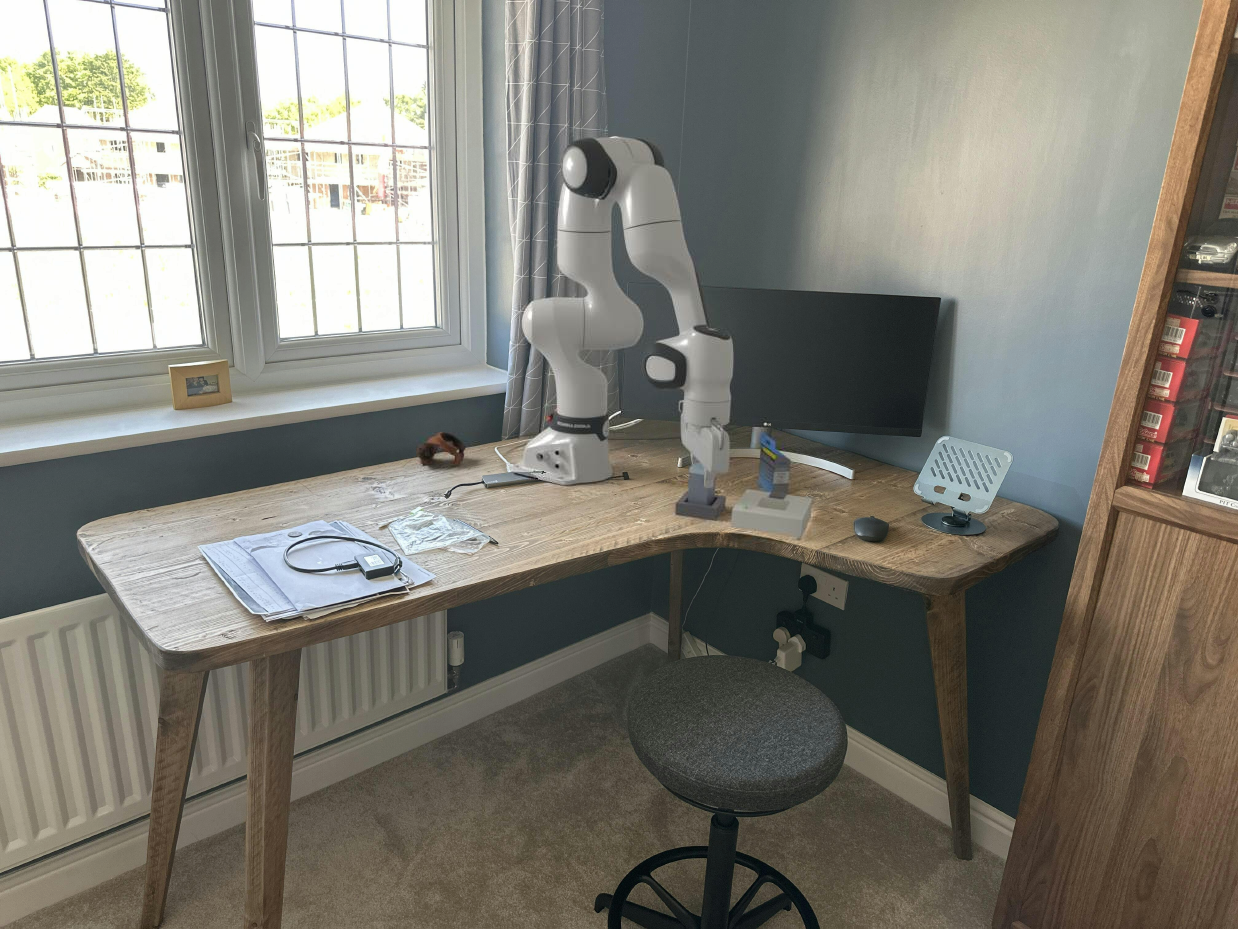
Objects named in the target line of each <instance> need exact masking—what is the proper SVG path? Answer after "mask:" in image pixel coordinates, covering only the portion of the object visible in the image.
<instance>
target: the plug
mask: <svg viewBox="0 0 1238 929" xmlns="http://www.w3.org/2000/svg"><path fill="white" fill-rule="evenodd" d="M704 475H705V471H704V466H703V465H702V464H701V463H699V462H698V463H696V464H694V465H693V466H692V465H691V466H689V475H688V486H687V487H688V489H687V491H688V503H695V504H702V505H709V506H712V505H713V504H714V499H715V495H716V483H717V482H716V481H717V475H716V476H715V478H714V485H713V487H712V488H705V487H704V486H703V484H702V482H703V477H704Z"/></svg>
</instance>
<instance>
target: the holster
mask: <svg viewBox="0 0 1238 929" xmlns="http://www.w3.org/2000/svg"><path fill="white" fill-rule="evenodd" d="M726 500H727V496H726V495H719V494H715V499H714V504H713V505H712V506H709V505H702V504H695V503H688V490H687V491H685V493H684V494H682V496H681V497H679V499H678V500H677V501H676V502H675V511H674V512H675V514H674V515H675V516H681V517H682V516H683V517H687V518H688V517H689V518H695V519H702V520H707V521H708V520H709V521H714V522H715V521H717V519H718V518H719V517H720V515H721V514H722V512H723V511H724V510H725V508H726V504H727V503H726Z"/></svg>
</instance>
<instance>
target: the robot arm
mask: <svg viewBox="0 0 1238 929" xmlns="http://www.w3.org/2000/svg"><path fill="white" fill-rule="evenodd" d="M560 163H561V164H560V172H561V177H562V181H563V183H562V186H561V190H560V197H559V202H558V203H559V204H558V211H557V232H556V233H557V236H556V238H557V249H556V250H557V253H556V254H557V255H556V256H557V259H556V260H557V267H558V268H559V271H560V272H561V273H562V274H563V275H564V276H566V277H567V278H569V279H570V280H572V281H573V282H576V283H578V284H580V285H582V286H583V287H584V288H585V289H586V291H587V295H586V296H584V297H564V296H562V297H558V296H553V297H552V296H551V297H546V298H545V297H544V298H540V299H535V300H532V301H530V302H529V304H528V305H527V306H526V307H525V309H524V312H523V314H522V316H521V317H522V318H521V329H522V332H523V334H524V337H525V339H526V340H527V342H528V343H530V345H531V346H533V348H536V350H538V351H539V352H540V353H541V354H542V355H543V357H545V359H546V361H547V362H548V364H549V366H550V368H551V370H552V372H553V375H554V376H553V377H554V380H555V381H554V382H555V389H556V390H555V391H556V408H555V409H554V411H553V412H551V413H549V415H547V416H546V417H545V418H546V420H545V421H546V422H549V426H548V427H547V428H545V429H544V430H543V431H541V432H539V434H537V435H536V436H535V437H534V438H532V439H531V440H529V441H528V442H527V444H526V445H525V448H524V451H523V456H522V457H523V458H522V459H521V460H518V461H517V462H516V463H515V464H514V465H513V467H512V473H513V472H533V471H534V470H535V471H544V472H546V473H543V474H541V473H531V474H533V475H535V476H536V477H537V478H538V479H537V480H541V481H544V482H549V483H553V484H558V485H562V486H572V485H576V484H583V483H584V484H585V483H586V484H587V483H593V482H595V483H596V482H600V481H604V480H607V479H609V478H611V477H612V476H613V474H614V471H613V468H612V464H611V460H610V458H611V457H610V454H609V453H610V451H609V442H608V438H609V432H610V415H609V412H608V385H609V384H608V379H607V377H606V375H605V373H604V372H602V370H600V369H598V368H597V367H595V366H593V365H591V364H589V363H588V362H587V363H586V362H585V361H583V360H582V359H581V358H580V356H579V353H580V351H584V350H587V351H588V350H591V351H593V350H594V351H596V350H597V351H599V350H600V351H601V350H602V351H606V350H607V351H614V350H621V349H626V348H630V347H634V346H635V345H636V344H638V342H639V340H640V339H641V336H642V334H643V330H644V317H643V313H642V311H641V309H640V307H639V306H638V305H637V304H636V303H635V302H634V301H633V300H631V299H630V298H629V297H628V296H627V295H626V294H625V293H624V292H623V290H622V288H621V287H620V285H619V284H618V281H617V280H616V277H615V272H614V271H613V262H612V209H613V206H614V204H615V203H617V204H618V206H619V209H620V212H621V220H622V221H621V222H622V228H623V229H622V230H623V236H624V237H623V238H624V243H625V247H626V252H627V255H628V258H629V260H630V262H631V264H632V265H633V266H634V267H635V268H636V269H637V270H639V272H641V273H643V274H644V275H646V276H648V277H651V278H653V279H654V280H655V281H658V282H659V283H660V284H662V285H663V286H664V287H665V288H666V290H667V291H668V292H669V295H670V297H671V300H672V304H673V308H674V313H675V317H676V322H677V326H678V329H679V331H678V332H679V335H677V336H676V335H675V336H673V337H669V338H665V339H661V340H657V341H655V342H653V343H650V344H649V345H648V346H647V347H646V348H645V350H644V352H643V354H642V359H641V368H642V373H643V376H644V378H645V380H646V381H647V382H648V383H649V384H650V385H651V386H652V388H655V389H658V390H666V391H667V390H677V389H680V390H682V391H683V393H684V394H683V395H684V396H683V399H682V400H679V401H678V411H679V412H680V413H681V414H680V438H681V443H682V445H683V446H684V447H685V449H686V450H687V451H689V452H690V459H691V460H690V461H691V466H693V465H694V464H696V463H698V462H699V463H701V464H702V465H703V466H704V471H705V475H704V477H703V482H702V484H703V486H704V487H705V488H712V487H713V485H714V478H715V476H716V477H717V474H726V473H728V470H729V468H730V436H729V434H728V432H727V431H726V430H725V429H724V426H726V425H728V424H729V423H730V416H731V404H732V403H731V402H732V395H731V390H730V386H731V381H732V379H733V376H734V374H733V373H734V347H733V346H734V343H733V340H732V337H731V334H730V333H729V332H728V331H727V330H725V329H723V328H722V327H719V326H716V325H711V324H710V321H709V320H710V319H709V316H708V312H707V308H706V303H705V299H704V294H703V290H702V286H701V281H700V278H699V273H698V269H697V267H696V264H695V262H694V260H693V258H692V257H691V255H690V252H689V250H688V246H687V243H686V239H685V235H684V230H683V222H682V217H681V216H682V215H681V210H680V205H679V201H678V197H677V193H676V189H675V186H674V182H673V179H672V177H671V175H670V172H669V171H668V170H667V169H666V168H665V159H664V156H663V154H662V151H661V150H660V148H659V147H658V146H657V145H655V144H654V143H653V142H650V141H648V140H646V139H643V138H630V137H624V136H610V137H597V138H596V137H583V138H579V139H576V140H574V141H571V142H570V143H569V144H568V145H567V146H566V147H565V149H564V150H563V153H562V156H561V161H560Z"/></svg>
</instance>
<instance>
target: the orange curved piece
mask: <svg viewBox="0 0 1238 929" xmlns="http://www.w3.org/2000/svg"><path fill="white" fill-rule="evenodd" d="M449 442H452V444H453V445H452V444H450V443H449ZM438 449H439V450H442V451H444V452H445V453H448V454H450V455H451V456H454V461H453V463H452V465H453V466H454V467H456V466H457V467H459V465H460V464H461V462H462V461H463V460H464V458H465V450H466V446H465V443H464V442H463V441H462V440H461V439H459V438H458V437H457V436H455V435H453V434H451V433H449V432H446V431H445V432H444V431H439V432H437V434H436V435H435V436H432V437H430V438H429V439H428V440H427V441H426V442H423V443H422V444H420V445H419V446H418V448H417V451H416V452H417V457H418V458H419V460H420V461H419V463H420V465H421V464H425V465H427V466H428V465H430V466H431V465H432V462H433V459H434V457H435V454H437V451H438ZM457 451H458V452H457Z"/></svg>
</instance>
